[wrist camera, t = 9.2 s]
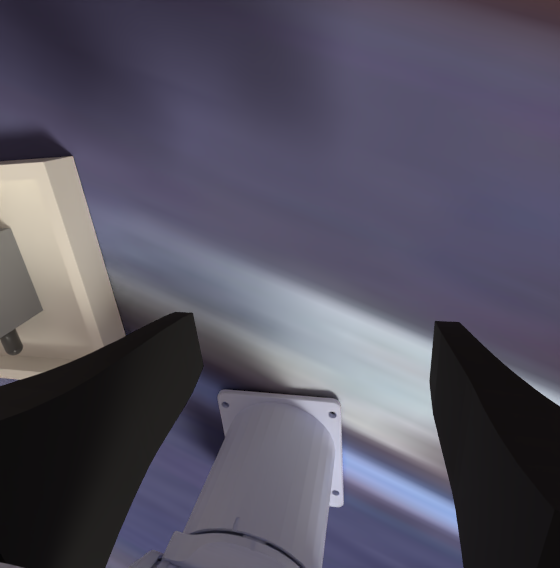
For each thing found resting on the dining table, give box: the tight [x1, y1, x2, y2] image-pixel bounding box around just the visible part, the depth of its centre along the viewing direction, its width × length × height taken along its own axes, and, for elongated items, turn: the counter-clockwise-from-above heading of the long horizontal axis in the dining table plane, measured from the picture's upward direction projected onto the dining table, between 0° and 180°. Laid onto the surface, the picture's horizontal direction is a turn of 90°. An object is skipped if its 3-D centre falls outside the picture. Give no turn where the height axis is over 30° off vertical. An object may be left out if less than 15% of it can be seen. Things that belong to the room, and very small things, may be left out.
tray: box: [0, 156, 126, 380], centre depth 25 cm, size 14×14×2 cm
